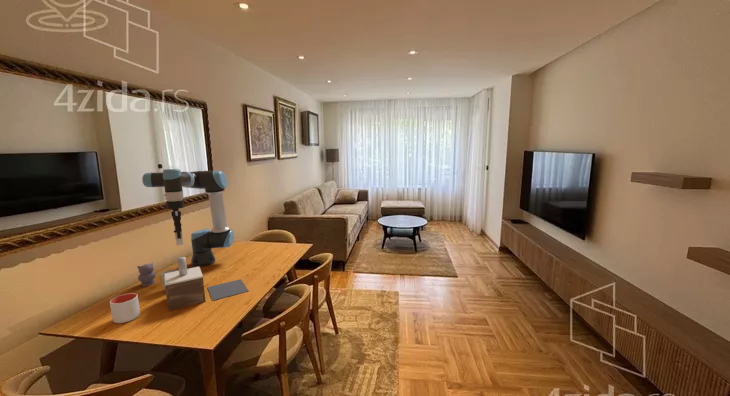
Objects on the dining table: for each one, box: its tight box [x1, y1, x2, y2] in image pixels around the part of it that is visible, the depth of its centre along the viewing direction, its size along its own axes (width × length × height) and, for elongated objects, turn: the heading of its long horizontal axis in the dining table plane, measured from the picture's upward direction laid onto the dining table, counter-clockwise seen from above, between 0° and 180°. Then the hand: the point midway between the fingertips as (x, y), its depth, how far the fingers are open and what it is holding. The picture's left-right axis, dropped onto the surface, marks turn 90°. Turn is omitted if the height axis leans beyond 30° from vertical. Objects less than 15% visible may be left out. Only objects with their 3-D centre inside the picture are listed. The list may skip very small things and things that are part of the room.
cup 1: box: [109, 292, 141, 324], centre depth 136 cm, size 10×10×10 cm
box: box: [164, 277, 206, 312], centre depth 153 cm, size 16×16×13 cm
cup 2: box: [160, 269, 178, 291], centre depth 165 cm, size 8×8×10 cm
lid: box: [164, 256, 204, 286], centre depth 151 cm, size 16×16×11 cm
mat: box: [206, 278, 250, 302], centre depth 165 cm, size 19×18×1 cm
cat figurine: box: [136, 262, 157, 287], centre depth 172 cm, size 8×8×12 cm
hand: (179, 241), depth 149 cm, fingers open, 13 cm apart
